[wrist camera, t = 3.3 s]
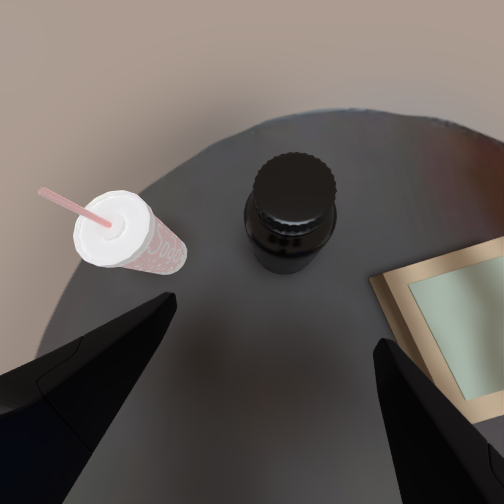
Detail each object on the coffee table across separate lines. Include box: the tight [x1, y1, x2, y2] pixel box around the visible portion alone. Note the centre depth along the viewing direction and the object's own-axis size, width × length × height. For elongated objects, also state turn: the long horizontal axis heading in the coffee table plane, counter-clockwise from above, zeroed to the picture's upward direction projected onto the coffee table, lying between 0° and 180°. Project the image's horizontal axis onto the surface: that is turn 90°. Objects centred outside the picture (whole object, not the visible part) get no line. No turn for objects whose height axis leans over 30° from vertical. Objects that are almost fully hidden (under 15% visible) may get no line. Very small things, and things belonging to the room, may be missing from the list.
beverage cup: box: [38, 187, 187, 275], centre depth 18 cm, size 6×6×14 cm
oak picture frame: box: [369, 237, 504, 424], centre depth 19 cm, size 12×12×3 cm
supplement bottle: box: [244, 152, 337, 274], centre depth 18 cm, size 7×7×12 cm
